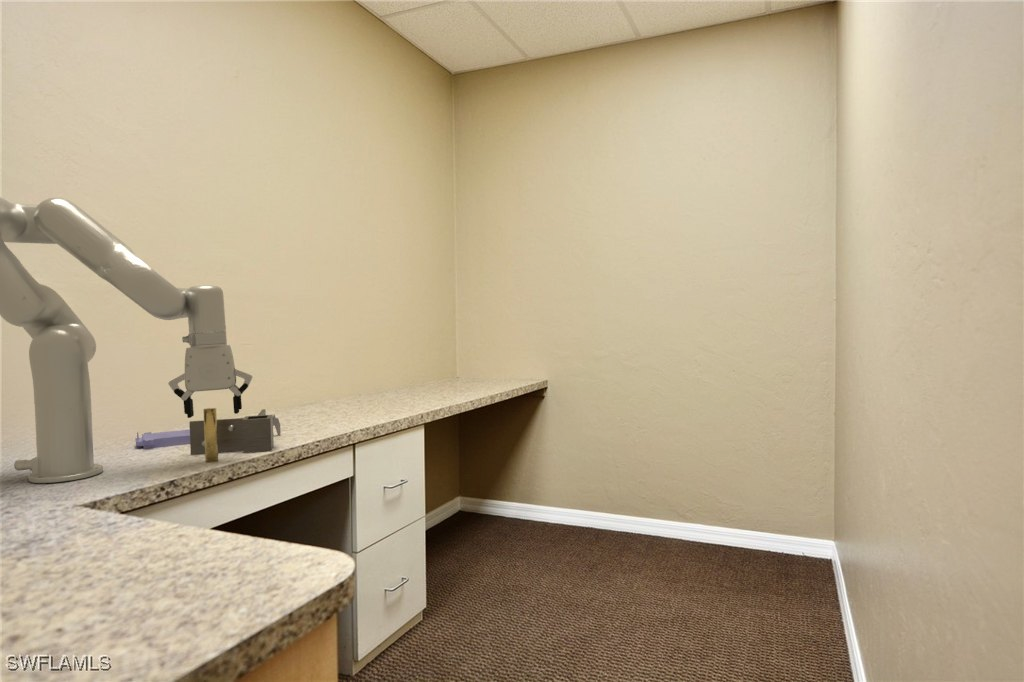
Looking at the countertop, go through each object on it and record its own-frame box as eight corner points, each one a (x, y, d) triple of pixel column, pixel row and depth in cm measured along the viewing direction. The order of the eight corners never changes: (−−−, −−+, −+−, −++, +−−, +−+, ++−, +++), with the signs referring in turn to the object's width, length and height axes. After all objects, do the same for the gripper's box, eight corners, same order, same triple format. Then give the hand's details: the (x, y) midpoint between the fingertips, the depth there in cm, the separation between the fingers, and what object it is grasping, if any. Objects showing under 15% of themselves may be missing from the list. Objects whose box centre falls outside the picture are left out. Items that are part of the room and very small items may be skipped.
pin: (204, 462, 138) (202, 409, 137) (206, 460, 140) (204, 408, 140) (217, 461, 138) (215, 409, 138) (218, 459, 141) (217, 407, 140)
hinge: (188, 457, 144) (186, 423, 144) (203, 442, 161) (202, 412, 161) (271, 450, 149) (270, 418, 149) (277, 437, 167) (276, 408, 167)
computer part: (135, 443, 165) (136, 452, 152) (134, 428, 165) (135, 436, 152) (253, 430, 181) (263, 438, 169) (253, 416, 181) (263, 423, 168)
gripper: (161, 343, 132) (167, 421, 133) (247, 338, 137) (252, 413, 138) (170, 342, 139) (175, 416, 140) (251, 337, 144) (256, 409, 145)
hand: (213, 414), depth 139 cm, fingers open, 9 cm apart
